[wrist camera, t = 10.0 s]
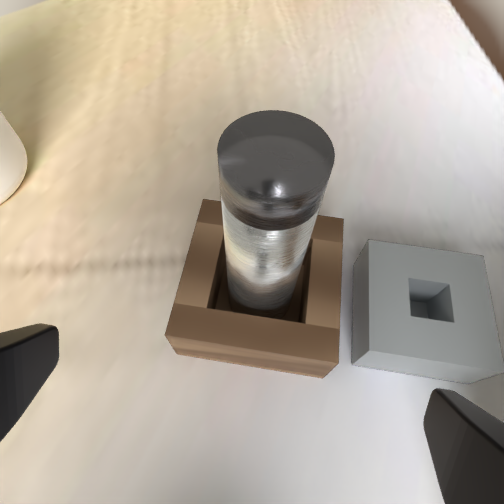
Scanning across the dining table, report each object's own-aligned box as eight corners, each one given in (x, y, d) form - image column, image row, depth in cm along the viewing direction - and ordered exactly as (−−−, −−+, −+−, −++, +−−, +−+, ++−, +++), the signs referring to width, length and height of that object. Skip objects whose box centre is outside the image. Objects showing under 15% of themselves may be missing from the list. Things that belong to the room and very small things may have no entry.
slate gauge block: (468, 384, 22) (505, 372, 19) (351, 365, 22) (369, 350, 19) (454, 280, 25) (483, 255, 22) (353, 265, 25) (368, 239, 22)
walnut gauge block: (322, 378, 22) (338, 363, 18) (176, 354, 22) (164, 334, 19) (329, 250, 26) (343, 218, 23) (208, 232, 26) (203, 199, 23)
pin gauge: (302, 299, 24) (358, 155, 12) (257, 339, 22) (272, 217, 11) (261, 259, 25) (278, 95, 14) (216, 293, 24) (193, 144, 12)
